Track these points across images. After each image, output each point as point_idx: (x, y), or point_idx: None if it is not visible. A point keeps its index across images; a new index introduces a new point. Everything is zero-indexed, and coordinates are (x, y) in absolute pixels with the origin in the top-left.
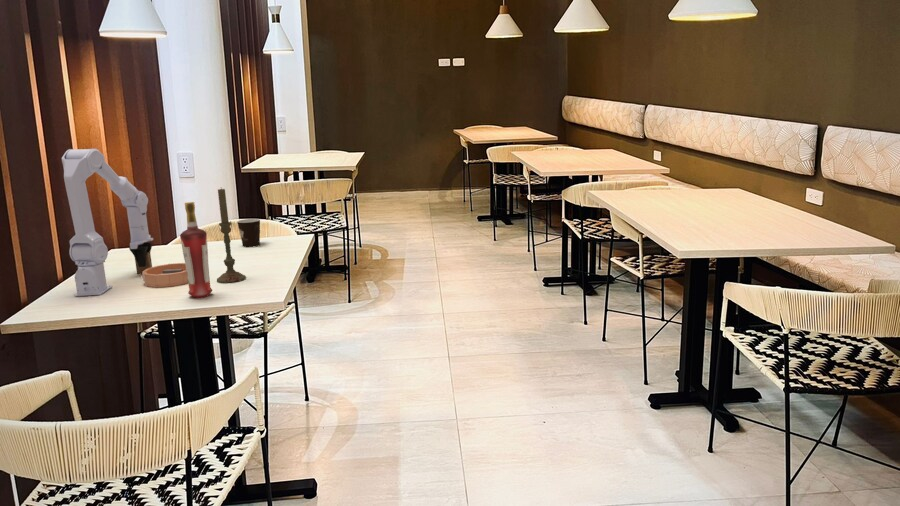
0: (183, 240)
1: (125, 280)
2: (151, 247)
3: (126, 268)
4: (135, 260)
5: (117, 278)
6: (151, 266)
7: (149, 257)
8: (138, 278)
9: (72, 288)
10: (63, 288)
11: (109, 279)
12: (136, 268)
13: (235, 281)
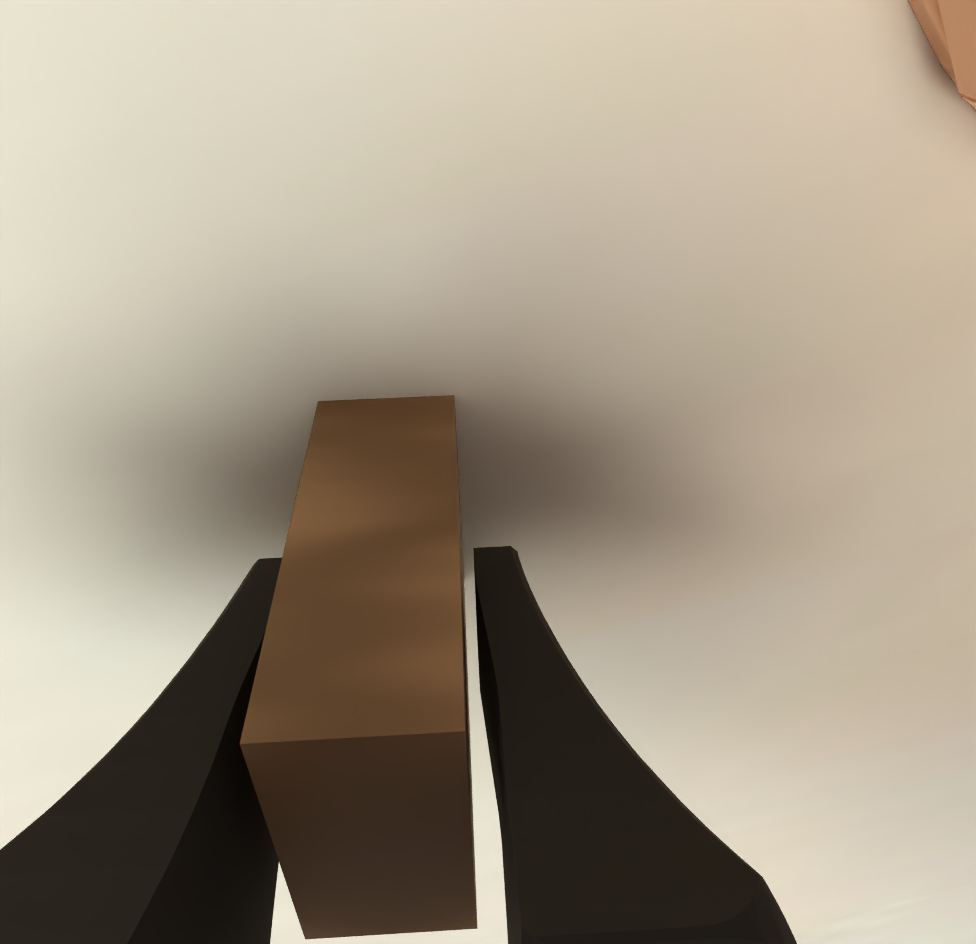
0: None
1: (847, 588)
2: (6, 859)
3: None
4: (471, 780)
5: (667, 709)
6: (341, 465)
7: (372, 620)
8: (800, 459)
9: (948, 889)
10: (900, 935)
11: (687, 762)
12: (466, 649)
13: None
